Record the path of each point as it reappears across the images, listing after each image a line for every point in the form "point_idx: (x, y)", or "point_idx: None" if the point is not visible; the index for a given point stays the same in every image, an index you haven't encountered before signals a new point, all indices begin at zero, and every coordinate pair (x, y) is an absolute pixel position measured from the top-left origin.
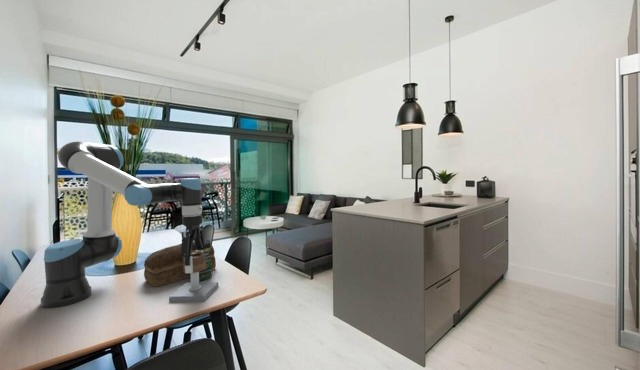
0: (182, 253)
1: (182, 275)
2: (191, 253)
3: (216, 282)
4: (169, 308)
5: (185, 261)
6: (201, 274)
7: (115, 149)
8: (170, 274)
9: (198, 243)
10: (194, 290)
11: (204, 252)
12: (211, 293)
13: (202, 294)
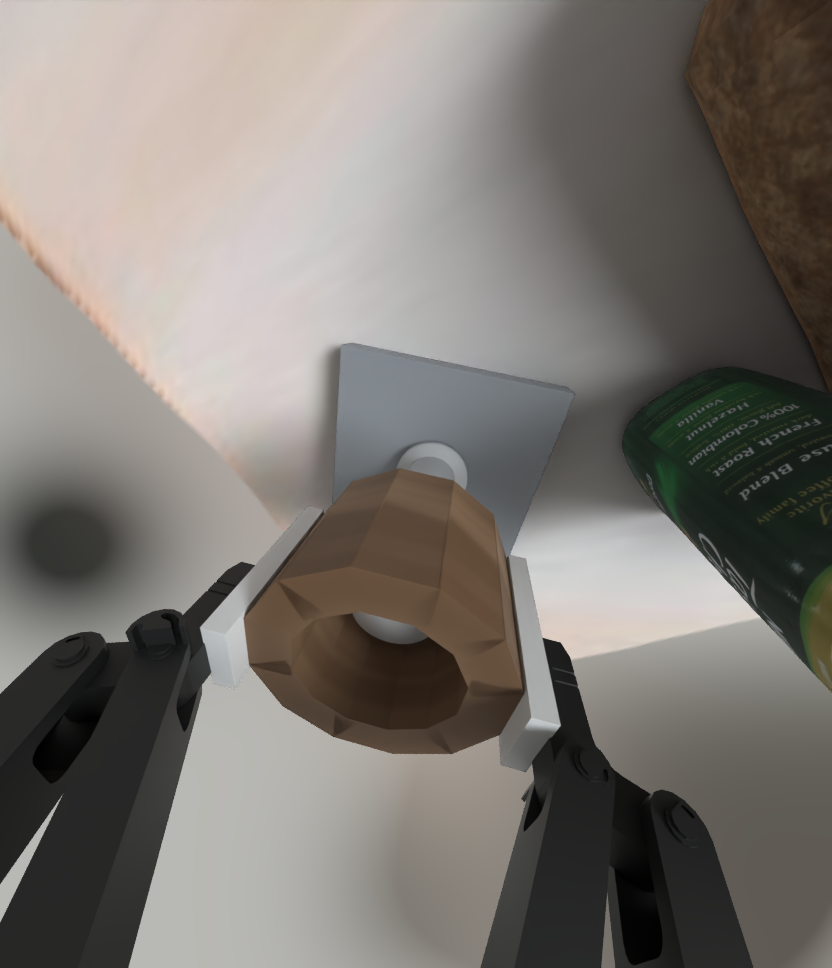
0: (12, 706)
1: (805, 289)
2: (483, 649)
3: None
4: (276, 376)
5: (200, 602)
6: (646, 485)
7: None
8: (800, 161)
9: (497, 940)
10: None
11: (808, 666)
12: None
13: None
